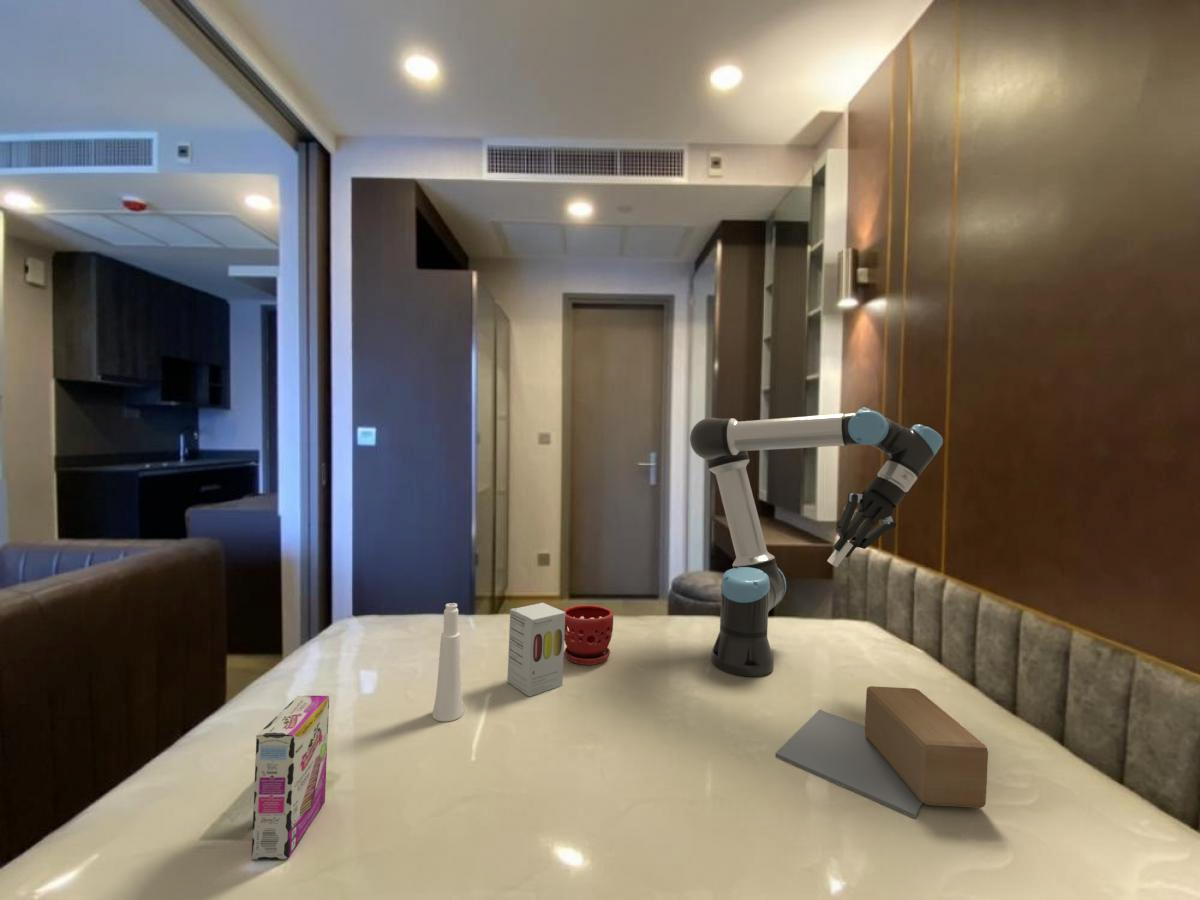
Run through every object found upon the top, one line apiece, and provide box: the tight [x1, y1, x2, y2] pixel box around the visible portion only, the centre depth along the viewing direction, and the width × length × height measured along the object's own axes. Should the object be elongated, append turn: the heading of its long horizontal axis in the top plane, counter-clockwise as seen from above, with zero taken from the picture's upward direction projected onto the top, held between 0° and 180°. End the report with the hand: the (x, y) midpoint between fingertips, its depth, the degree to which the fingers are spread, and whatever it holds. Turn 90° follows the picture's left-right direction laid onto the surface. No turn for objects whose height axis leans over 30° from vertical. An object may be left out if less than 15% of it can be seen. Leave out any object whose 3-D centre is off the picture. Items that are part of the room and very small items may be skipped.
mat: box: [774, 709, 923, 819], centre depth 95 cm, size 22×22×1 cm
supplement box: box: [506, 602, 565, 698], centre depth 119 cm, size 10×9×17 cm
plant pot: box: [562, 604, 614, 666], centre depth 135 cm, size 13×13×12 cm
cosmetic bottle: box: [432, 602, 465, 723], centre depth 105 cm, size 6×6×22 cm
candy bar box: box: [250, 695, 330, 861], centre depth 73 cm, size 11×5×16 cm, turn 5°
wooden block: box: [864, 685, 989, 809], centre depth 91 cm, size 10×10×20 cm
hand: (831, 564), depth 126 cm, fingers closed
